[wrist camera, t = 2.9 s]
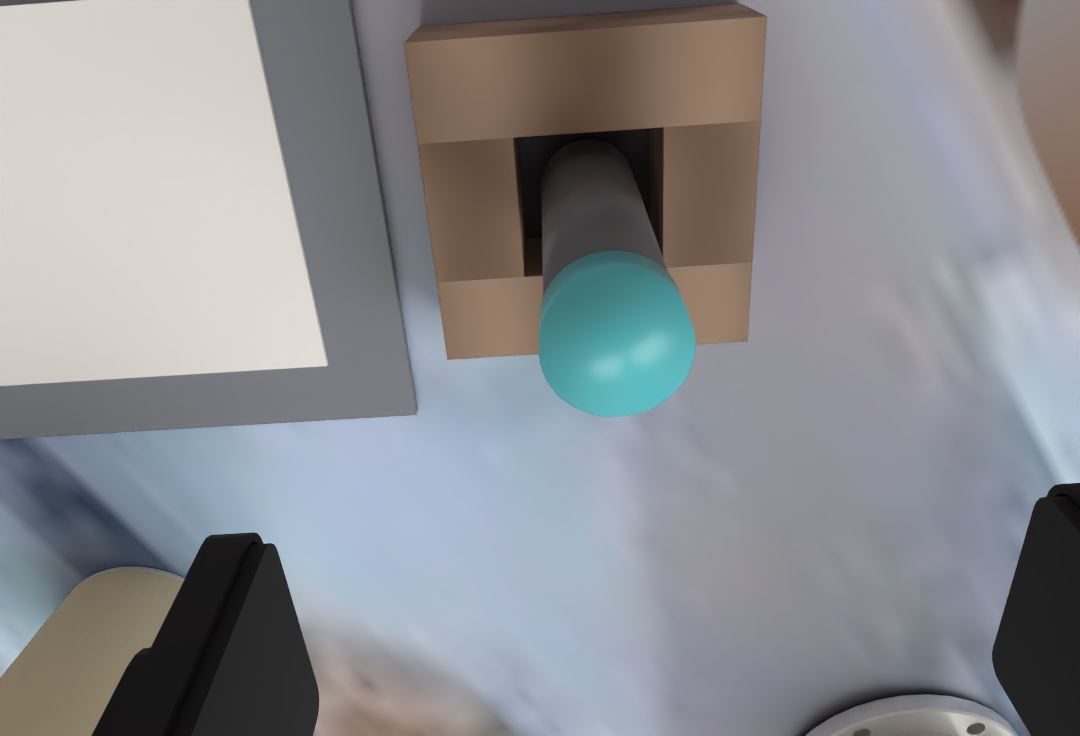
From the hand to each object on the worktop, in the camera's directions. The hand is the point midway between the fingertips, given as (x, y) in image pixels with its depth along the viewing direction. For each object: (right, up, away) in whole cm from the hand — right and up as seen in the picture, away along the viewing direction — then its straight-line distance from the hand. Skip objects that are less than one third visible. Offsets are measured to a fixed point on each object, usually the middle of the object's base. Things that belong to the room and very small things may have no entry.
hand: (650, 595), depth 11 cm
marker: (0, +10, +18) cm, 20 cm away
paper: (-19, +8, +18) cm, 27 cm away
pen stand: (0, +10, +18) cm, 20 cm away
